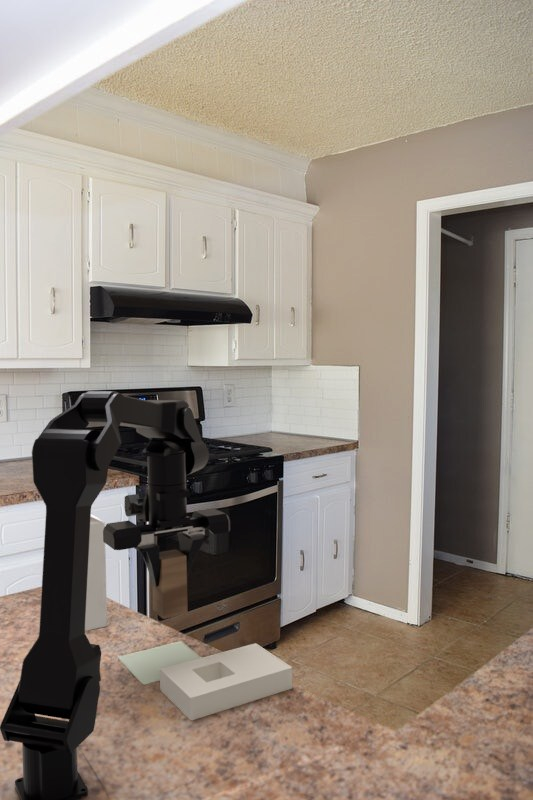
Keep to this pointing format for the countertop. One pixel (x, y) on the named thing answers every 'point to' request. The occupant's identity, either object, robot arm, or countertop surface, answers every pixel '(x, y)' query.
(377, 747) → the countertop surface
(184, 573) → the plug
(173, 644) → the mat
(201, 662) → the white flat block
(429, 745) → the countertop surface
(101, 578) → the milk
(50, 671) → the robot arm
